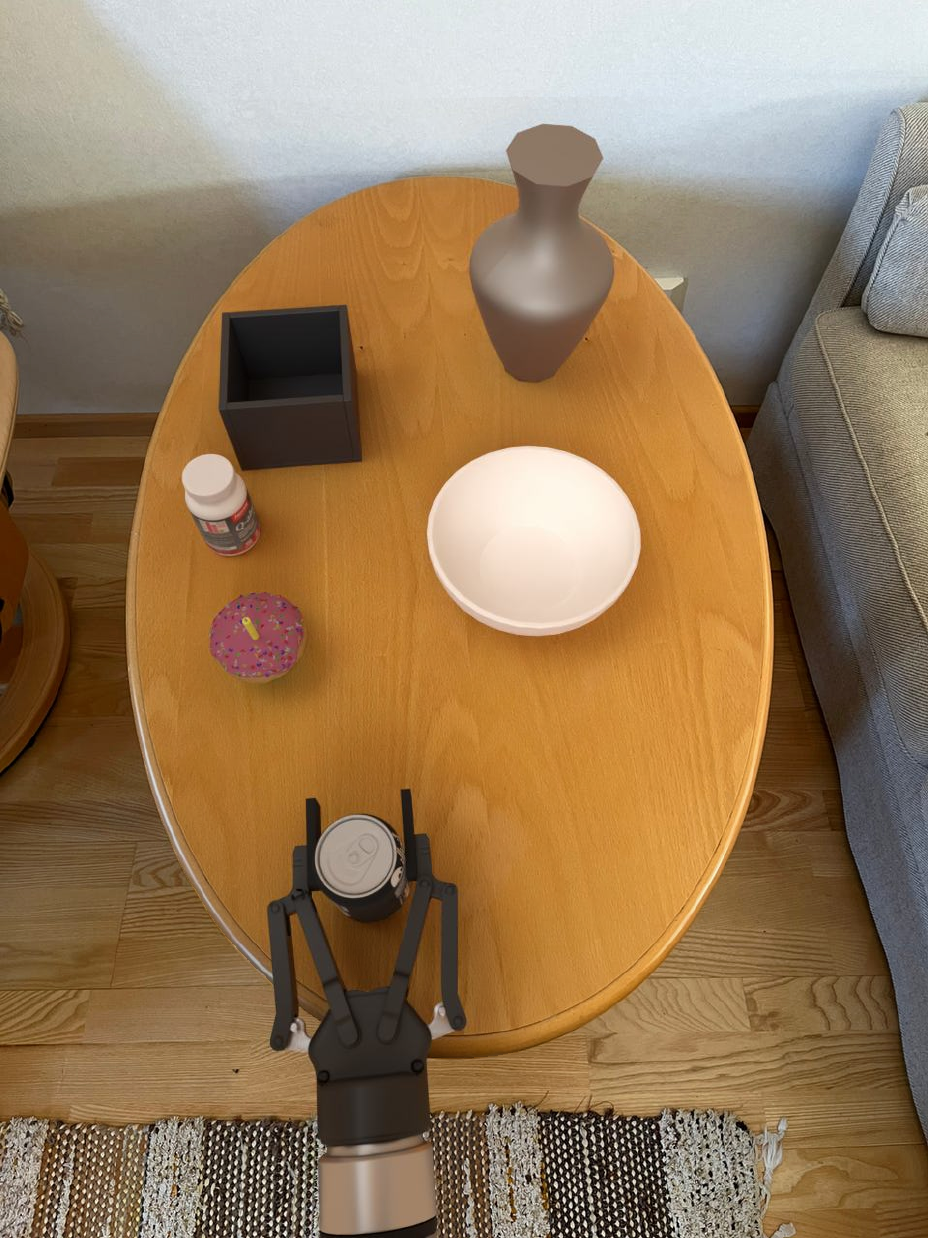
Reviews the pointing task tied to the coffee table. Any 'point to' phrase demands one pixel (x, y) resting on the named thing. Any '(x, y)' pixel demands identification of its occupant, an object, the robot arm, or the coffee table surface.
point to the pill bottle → (220, 505)
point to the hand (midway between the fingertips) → (359, 798)
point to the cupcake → (258, 637)
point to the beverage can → (362, 867)
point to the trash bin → (289, 387)
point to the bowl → (533, 540)
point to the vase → (543, 256)
